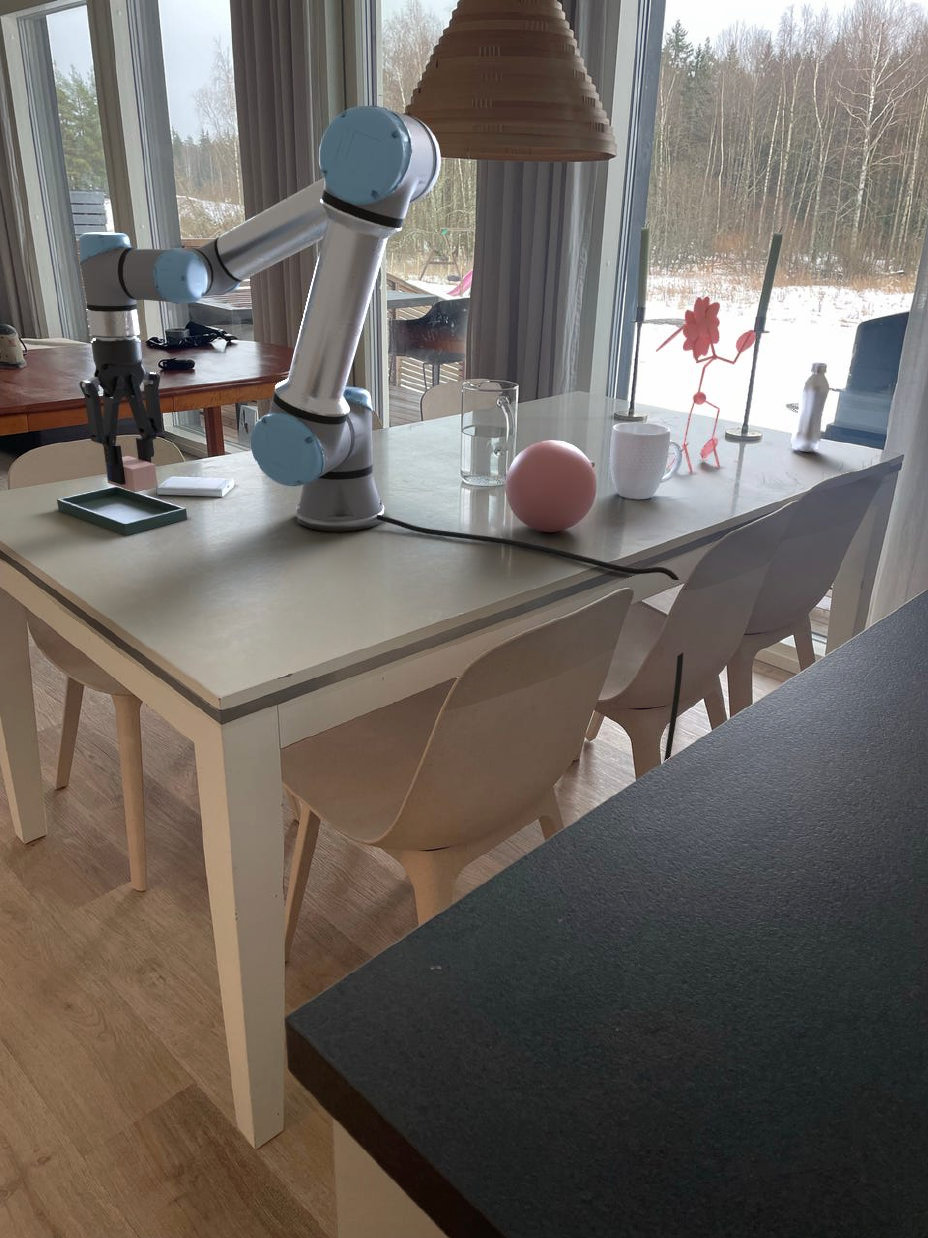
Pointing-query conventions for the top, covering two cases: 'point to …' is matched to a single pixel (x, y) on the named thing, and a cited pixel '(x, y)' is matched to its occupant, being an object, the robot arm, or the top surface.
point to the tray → (122, 510)
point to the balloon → (551, 486)
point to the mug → (641, 458)
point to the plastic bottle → (811, 409)
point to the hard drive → (195, 486)
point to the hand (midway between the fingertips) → (132, 479)
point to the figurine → (699, 338)
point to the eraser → (135, 474)
